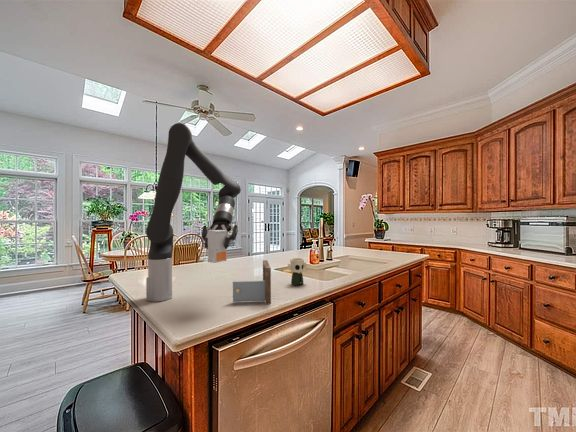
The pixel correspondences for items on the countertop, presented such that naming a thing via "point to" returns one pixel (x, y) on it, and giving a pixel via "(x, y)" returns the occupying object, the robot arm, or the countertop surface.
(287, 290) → the countertop surface
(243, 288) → the door leaf
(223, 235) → the skincare box
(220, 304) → the countertop surface
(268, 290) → the door frame
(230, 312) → the countertop surface
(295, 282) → the character mug
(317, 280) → the countertop surface
